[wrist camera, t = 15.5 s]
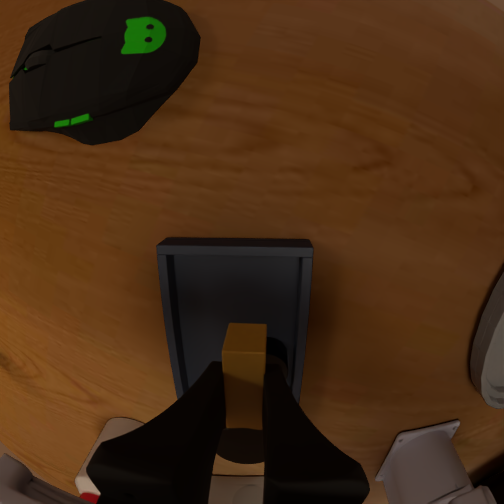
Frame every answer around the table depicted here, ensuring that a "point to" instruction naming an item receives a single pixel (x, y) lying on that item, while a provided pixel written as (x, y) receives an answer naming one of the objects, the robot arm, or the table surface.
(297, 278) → the tray
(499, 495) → the ball
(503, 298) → the round grey plant saucer
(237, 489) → the cosmetics box
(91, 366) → the table surface
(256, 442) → the key
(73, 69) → the computer mouse
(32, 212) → the table surface
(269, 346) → the key
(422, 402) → the table surface
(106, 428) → the pill bottle
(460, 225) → the table surface
